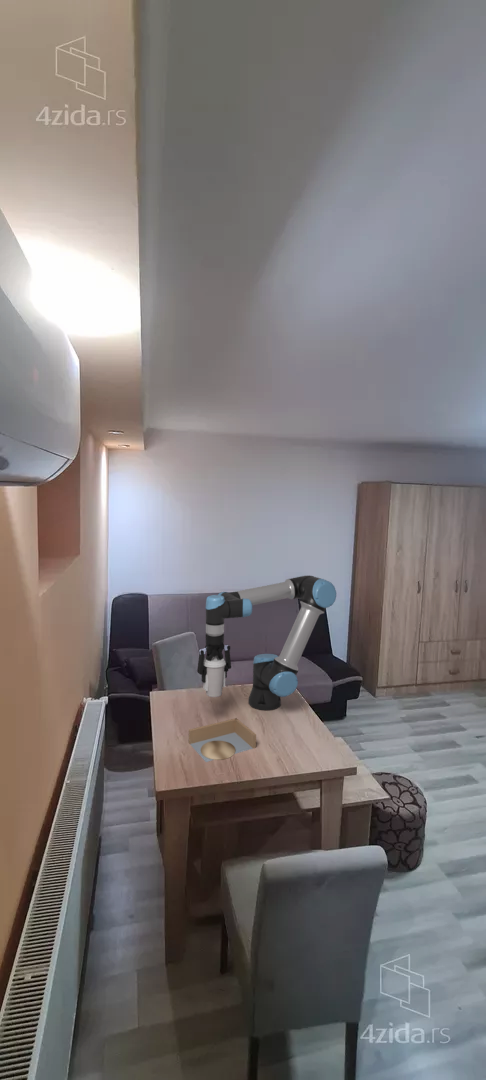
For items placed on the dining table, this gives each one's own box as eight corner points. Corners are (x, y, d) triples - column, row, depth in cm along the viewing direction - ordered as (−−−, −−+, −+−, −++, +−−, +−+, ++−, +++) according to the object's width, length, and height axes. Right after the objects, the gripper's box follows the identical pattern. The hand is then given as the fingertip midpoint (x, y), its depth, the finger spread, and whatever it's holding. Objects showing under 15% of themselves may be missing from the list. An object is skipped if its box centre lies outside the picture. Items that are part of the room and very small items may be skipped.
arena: (235, 732, 188) (236, 718, 188) (255, 749, 175) (256, 734, 175) (188, 744, 177) (188, 729, 177) (205, 764, 165) (206, 748, 164)
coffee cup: (222, 699, 185) (222, 663, 184) (199, 697, 187) (199, 661, 186) (227, 690, 195) (228, 655, 193) (206, 688, 197) (206, 653, 195)
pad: (225, 738, 181) (225, 737, 181) (241, 754, 170) (241, 753, 170) (194, 746, 175) (194, 745, 175) (210, 763, 164) (210, 762, 164)
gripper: (231, 628, 197) (231, 680, 199) (188, 634, 187) (188, 689, 189) (240, 632, 191) (239, 686, 193) (196, 639, 181) (195, 696, 183)
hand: (214, 687), depth 191 cm, fingers closed on coffee cup, 7 cm apart
